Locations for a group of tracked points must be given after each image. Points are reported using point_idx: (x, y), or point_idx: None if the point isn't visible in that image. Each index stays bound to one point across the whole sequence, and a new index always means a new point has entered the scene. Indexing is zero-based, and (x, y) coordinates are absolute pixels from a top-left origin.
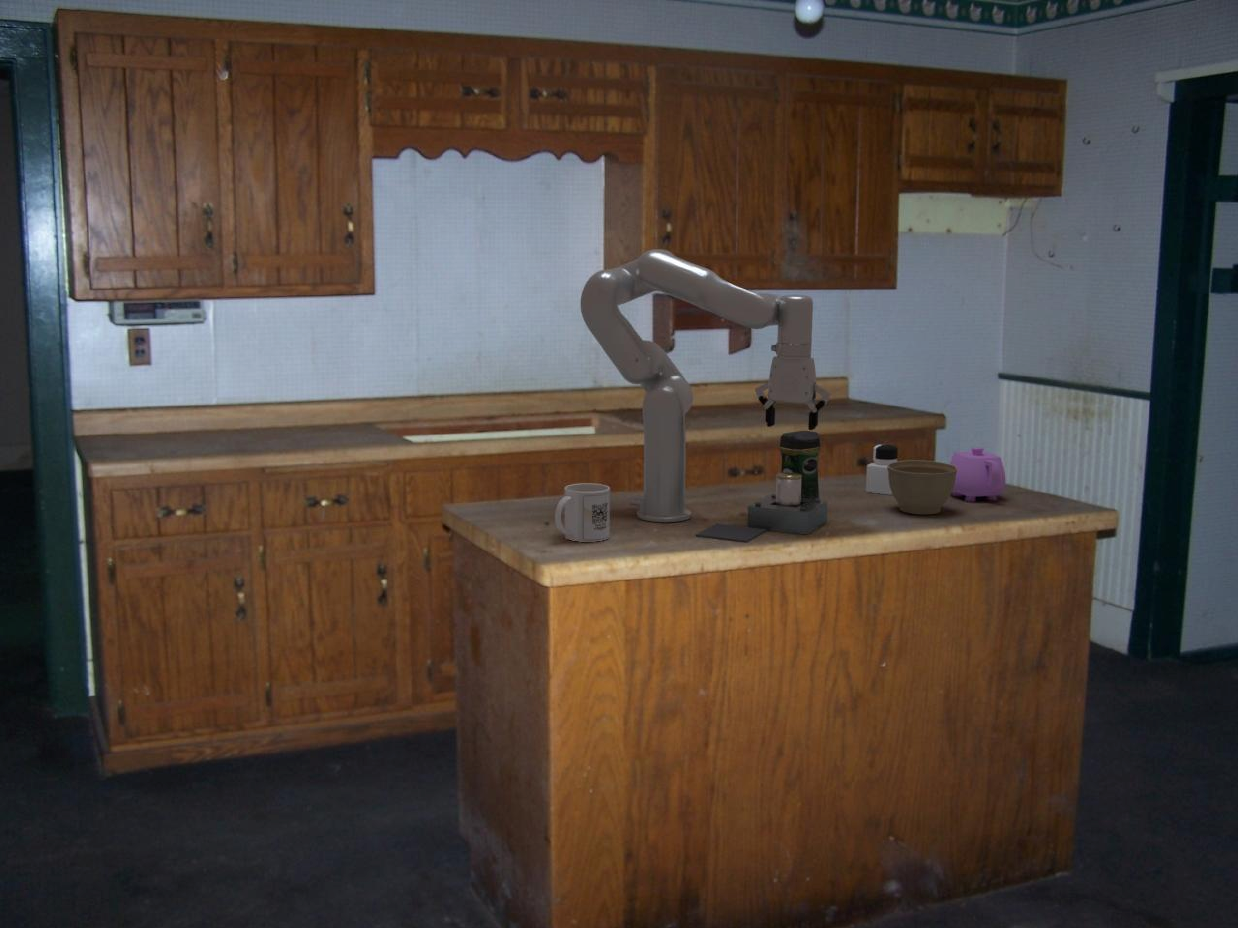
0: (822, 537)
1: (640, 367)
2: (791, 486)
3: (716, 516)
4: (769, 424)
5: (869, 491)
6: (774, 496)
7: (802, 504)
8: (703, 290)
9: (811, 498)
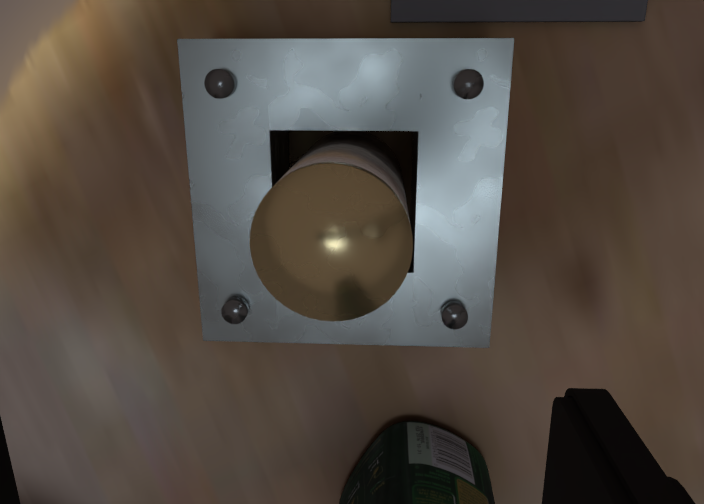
0: (137, 29)
1: None
2: (294, 166)
3: (685, 196)
4: (576, 406)
5: None
6: (449, 303)
7: None
8: None
9: (352, 492)
